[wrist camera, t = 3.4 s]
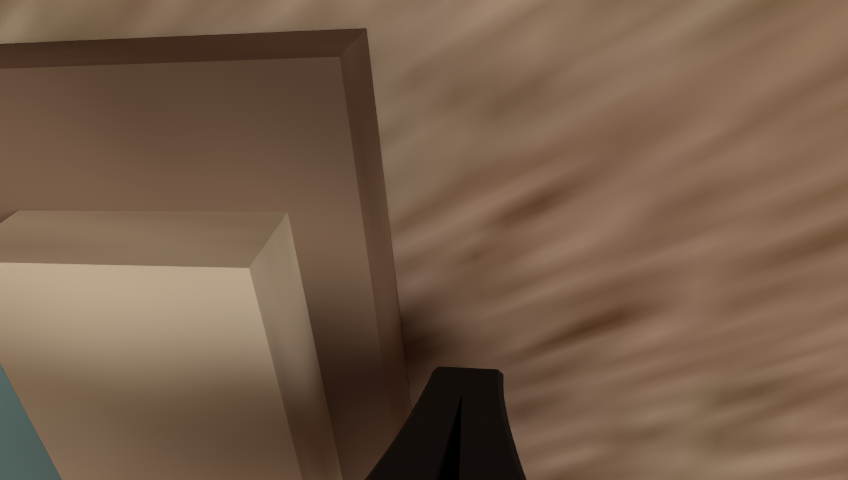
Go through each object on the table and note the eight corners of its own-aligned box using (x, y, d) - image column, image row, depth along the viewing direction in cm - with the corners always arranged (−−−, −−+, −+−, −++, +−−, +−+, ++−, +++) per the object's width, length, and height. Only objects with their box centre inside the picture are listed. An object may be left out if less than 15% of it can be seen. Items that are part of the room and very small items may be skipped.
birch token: (343, 484, 17) (321, 555, 15) (132, 467, 18) (90, 532, 16) (287, 212, 13) (248, 268, 11) (18, 210, 14) (-55, 261, 12)
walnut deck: (421, 500, 20) (410, 560, 18) (123, 475, 22) (87, 528, 20) (366, 29, 13) (340, 56, 11) (-73, 47, 14) (-155, 74, 13)
